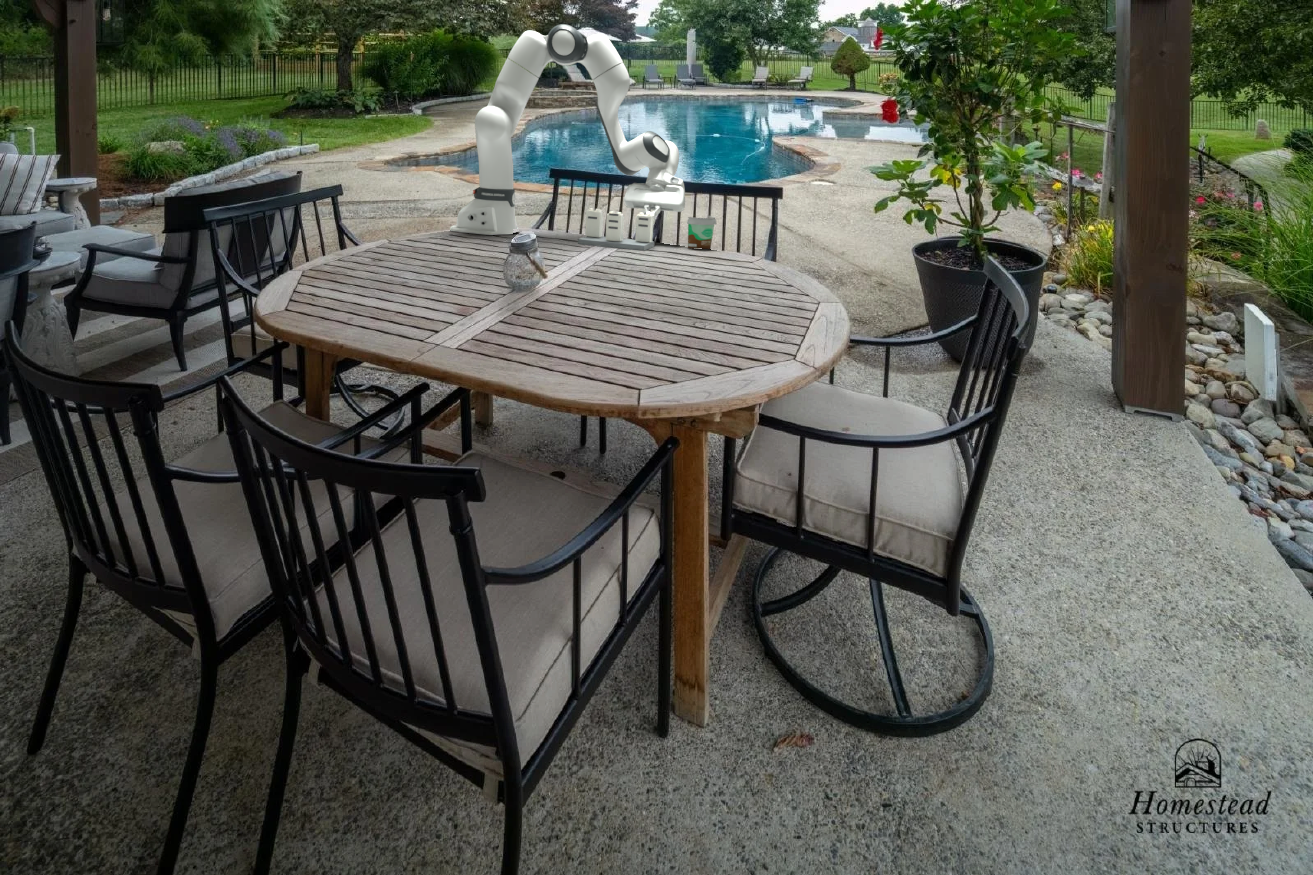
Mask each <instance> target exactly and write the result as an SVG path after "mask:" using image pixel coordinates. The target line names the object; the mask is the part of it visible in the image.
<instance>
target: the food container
mask: <svg viewBox="0 0 1313 875" xmlns="http://www.w3.org/2000/svg"><path fill="white" fill-rule="evenodd" d="M686 223H687V224H688V225H687V249H688V248H692V249H691V250H695V249H694V248H702V249H708V250H711V248H712V242H713V235H714V229H715V225H717V219H716V217H715V216H713V215H707V217H693V216H692V217H691V216H688V217H687V222H686Z"/></svg>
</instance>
